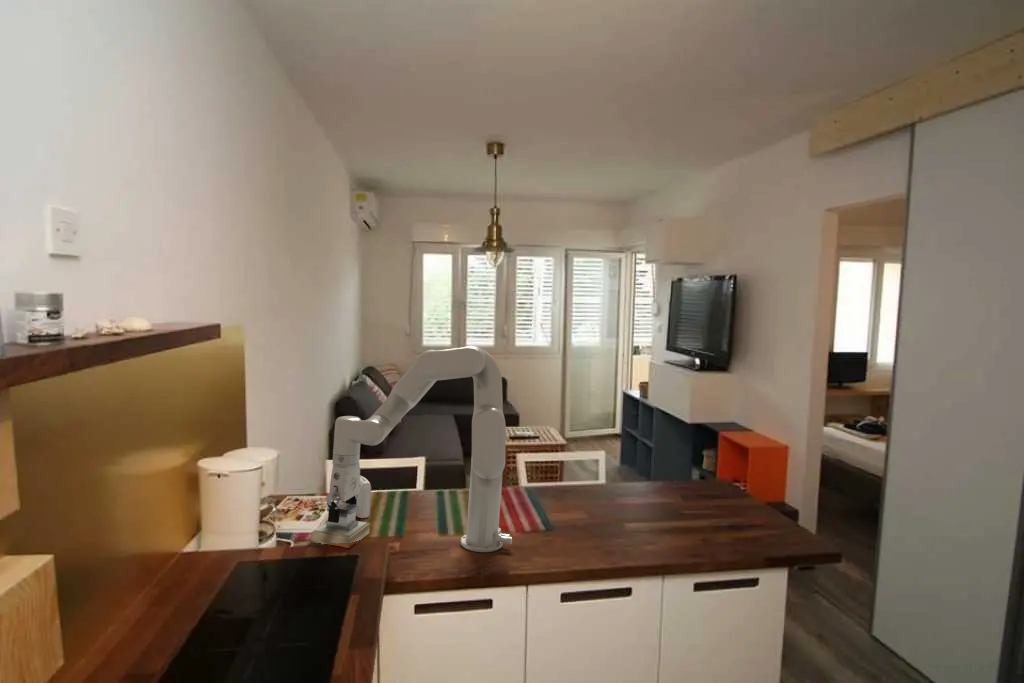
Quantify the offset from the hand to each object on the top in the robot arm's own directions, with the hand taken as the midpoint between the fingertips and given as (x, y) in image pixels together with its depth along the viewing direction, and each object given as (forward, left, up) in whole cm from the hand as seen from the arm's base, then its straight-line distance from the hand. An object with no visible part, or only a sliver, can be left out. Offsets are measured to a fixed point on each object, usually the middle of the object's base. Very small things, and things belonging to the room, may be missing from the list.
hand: (342, 516), depth 156 cm
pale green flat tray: (0, 0, -6) cm, 6 cm away
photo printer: (+5, -20, -6) cm, 22 cm away
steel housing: (0, 0, -3) cm, 3 cm away
